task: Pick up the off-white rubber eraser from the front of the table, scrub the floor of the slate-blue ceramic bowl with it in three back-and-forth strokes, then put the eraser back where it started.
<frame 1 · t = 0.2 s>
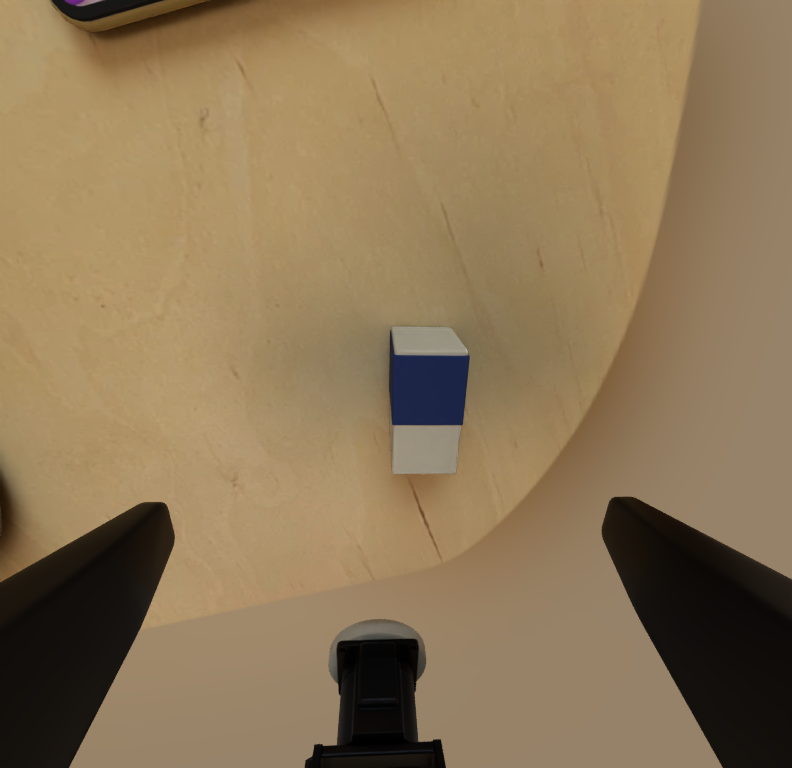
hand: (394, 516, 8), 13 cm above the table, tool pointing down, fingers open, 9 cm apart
eraser: (418, 382, 20), on the table
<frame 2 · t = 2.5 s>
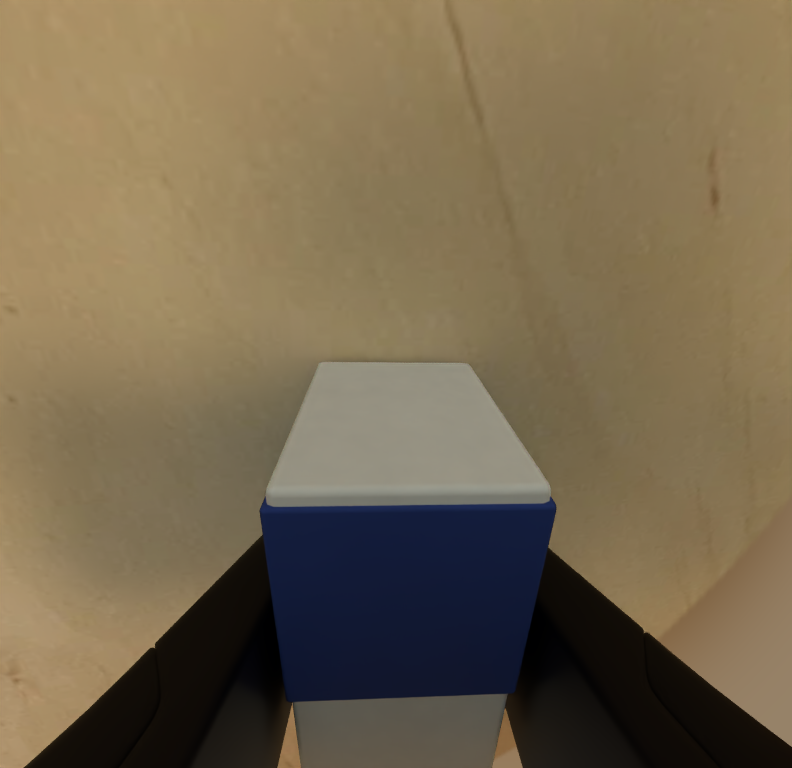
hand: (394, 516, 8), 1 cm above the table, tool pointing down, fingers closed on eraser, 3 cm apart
eraser: (391, 486, 9), on the table, touching gripper
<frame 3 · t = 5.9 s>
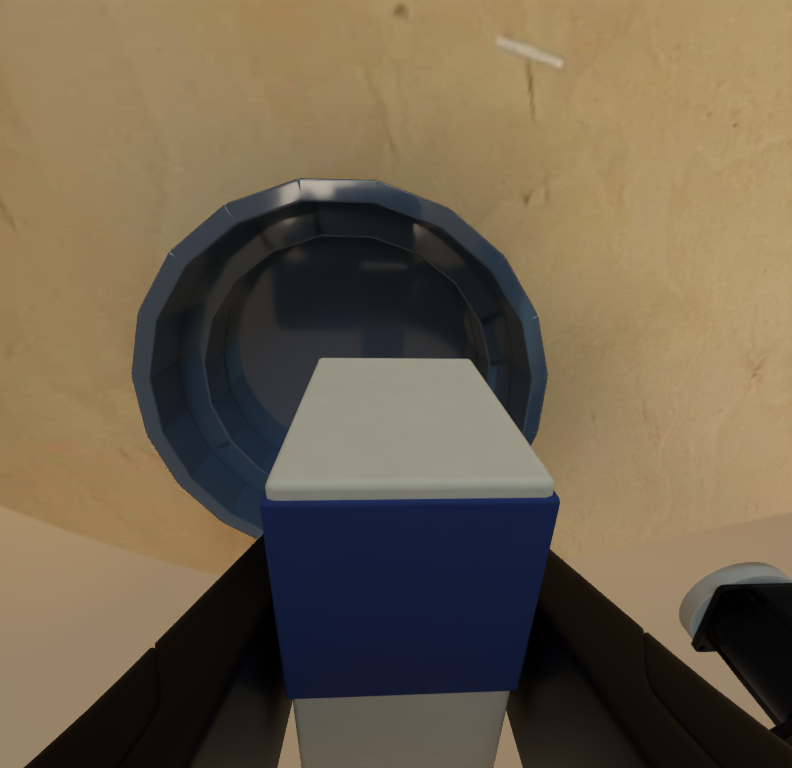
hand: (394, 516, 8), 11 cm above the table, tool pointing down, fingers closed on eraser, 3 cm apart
eraser: (392, 483, 9), point 10 cm above the table, touching gripper
bowl: (353, 364, 18), on the table
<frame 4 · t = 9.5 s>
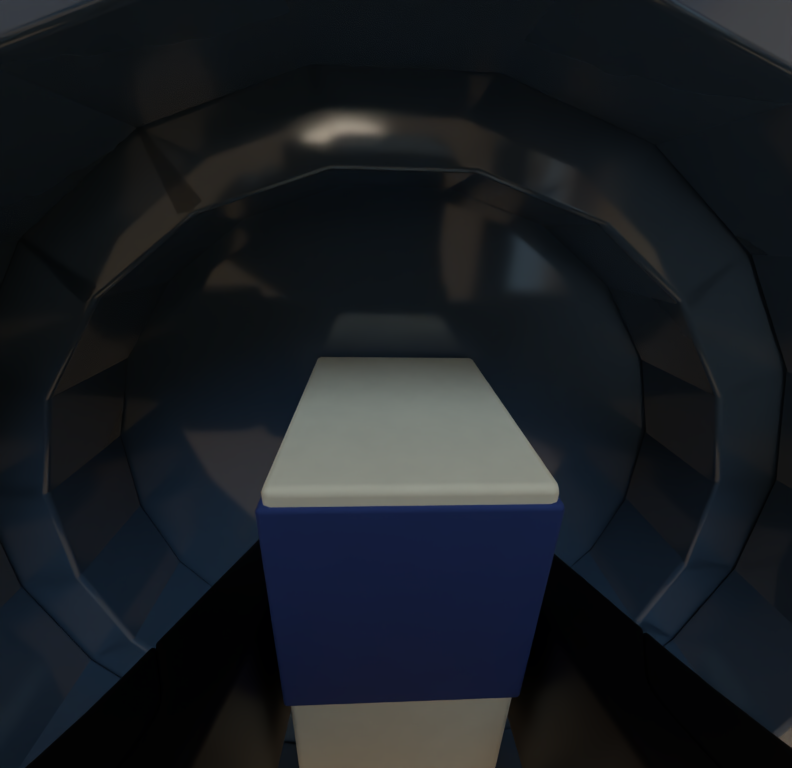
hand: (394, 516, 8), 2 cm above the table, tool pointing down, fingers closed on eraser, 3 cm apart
eraser: (392, 483, 9), point 1 cm above the table, touching gripper
bowl: (390, 452, 9), on the table
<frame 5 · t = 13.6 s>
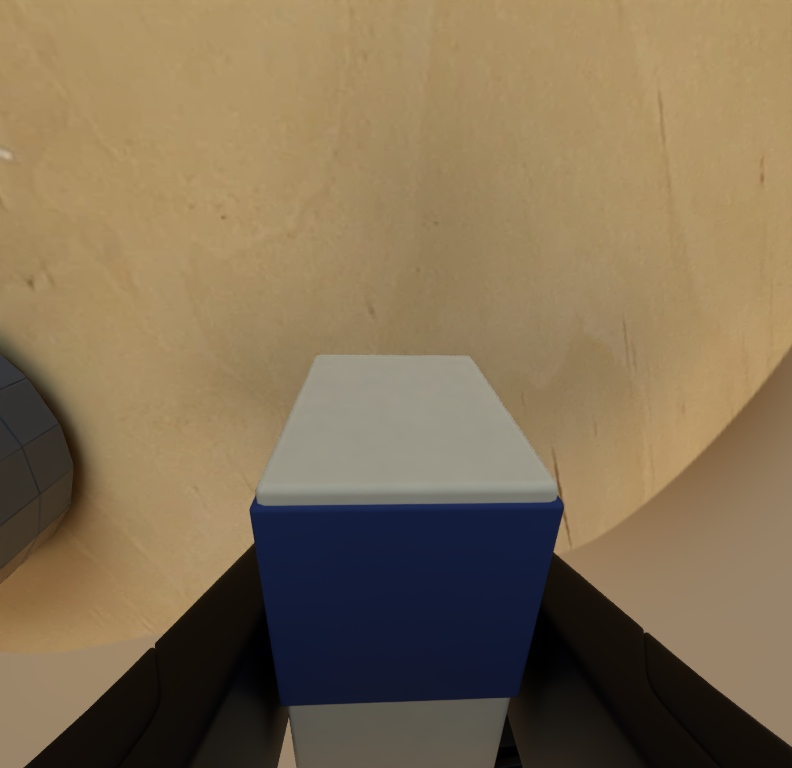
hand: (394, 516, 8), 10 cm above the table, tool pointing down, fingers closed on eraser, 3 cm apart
eraser: (391, 481, 9), point 9 cm above the table, touching gripper
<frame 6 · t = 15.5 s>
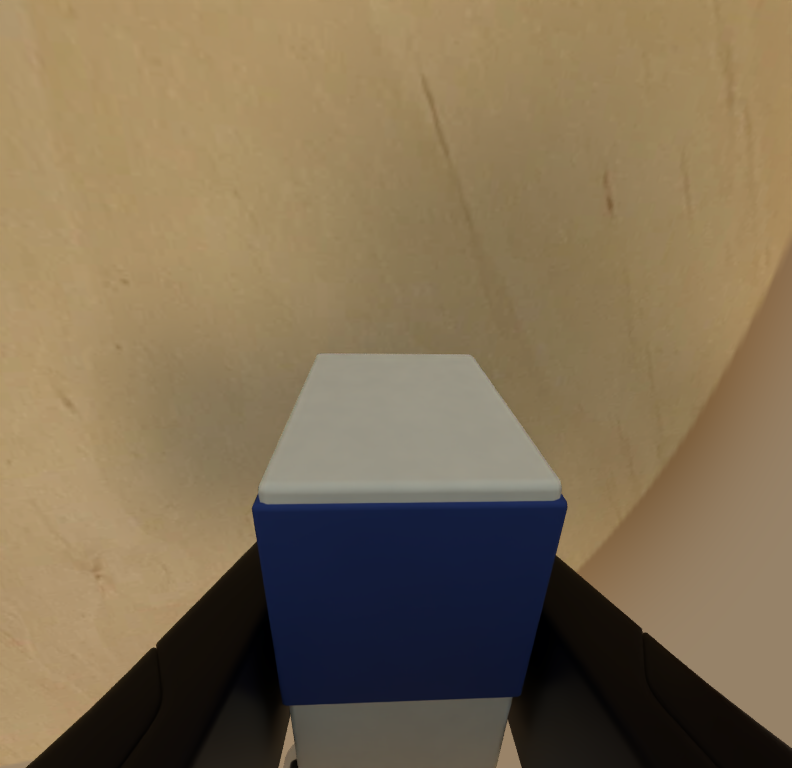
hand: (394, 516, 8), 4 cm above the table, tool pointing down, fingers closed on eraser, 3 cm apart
eraser: (392, 481, 9), point 4 cm above the table, touching gripper
when the fingers open (1 cm above the table, at t = 16.8 s): eraser stays where it is, on the table.
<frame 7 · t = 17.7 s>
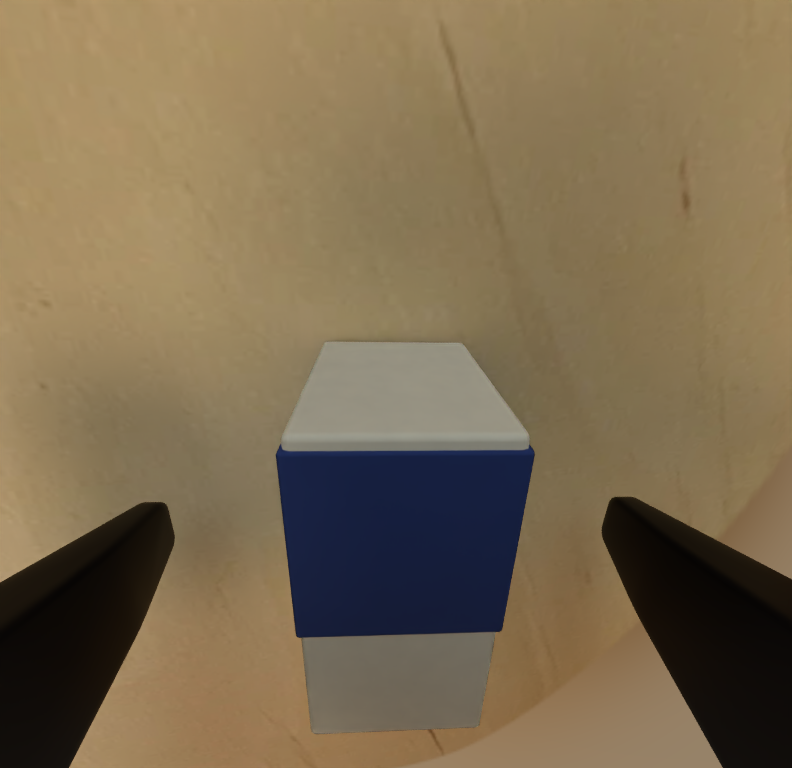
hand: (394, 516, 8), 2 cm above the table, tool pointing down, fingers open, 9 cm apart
eraser: (391, 460, 9), on the table
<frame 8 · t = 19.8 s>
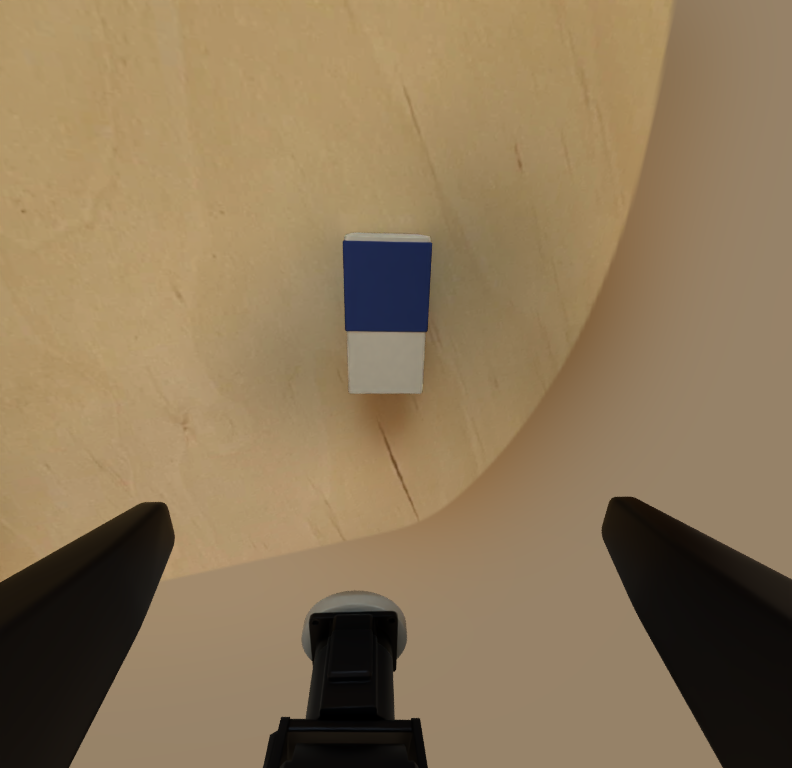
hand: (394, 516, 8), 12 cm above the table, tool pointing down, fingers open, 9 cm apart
eraser: (384, 301, 18), on the table
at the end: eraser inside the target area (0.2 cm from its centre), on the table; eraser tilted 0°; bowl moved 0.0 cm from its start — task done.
